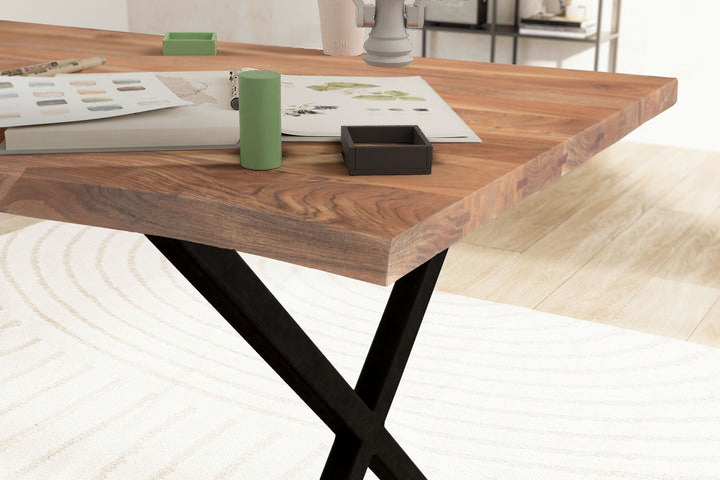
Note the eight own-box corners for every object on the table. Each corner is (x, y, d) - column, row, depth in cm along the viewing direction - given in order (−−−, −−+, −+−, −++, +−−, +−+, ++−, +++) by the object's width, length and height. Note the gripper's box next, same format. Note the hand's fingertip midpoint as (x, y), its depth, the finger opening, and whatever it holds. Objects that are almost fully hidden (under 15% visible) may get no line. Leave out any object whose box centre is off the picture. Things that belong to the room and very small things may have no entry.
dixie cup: (366, 59, 126) (368, -14, 122) (309, 56, 127) (309, -16, 123) (374, 49, 133) (376, -19, 130) (320, 47, 135) (320, -22, 131)
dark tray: (349, 175, 76) (349, 147, 75) (340, 151, 82) (340, 125, 81) (431, 174, 76) (433, 146, 76) (416, 150, 83) (417, 124, 82)
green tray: (163, 58, 123) (162, 40, 122) (167, 49, 130) (166, 32, 129) (215, 58, 124) (214, 40, 123) (217, 49, 131) (216, 32, 130)
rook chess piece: (375, 70, 73) (378, -31, 70) (353, 60, 77) (355, -36, 74) (422, 66, 75) (427, -32, 72) (399, 57, 79) (402, -36, 76)
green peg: (240, 170, 76) (237, 78, 73) (240, 158, 79) (238, 69, 76) (282, 170, 77) (281, 78, 74) (280, 158, 80) (279, 69, 77)
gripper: (511, -147, 74) (497, 22, 79) (265, -154, 71) (268, 20, 77) (534, -149, 68) (518, 33, 73) (267, -157, 66) (270, 32, 71)
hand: (388, 27), depth 75 cm, fingers closed on rook chess piece, 3 cm apart
